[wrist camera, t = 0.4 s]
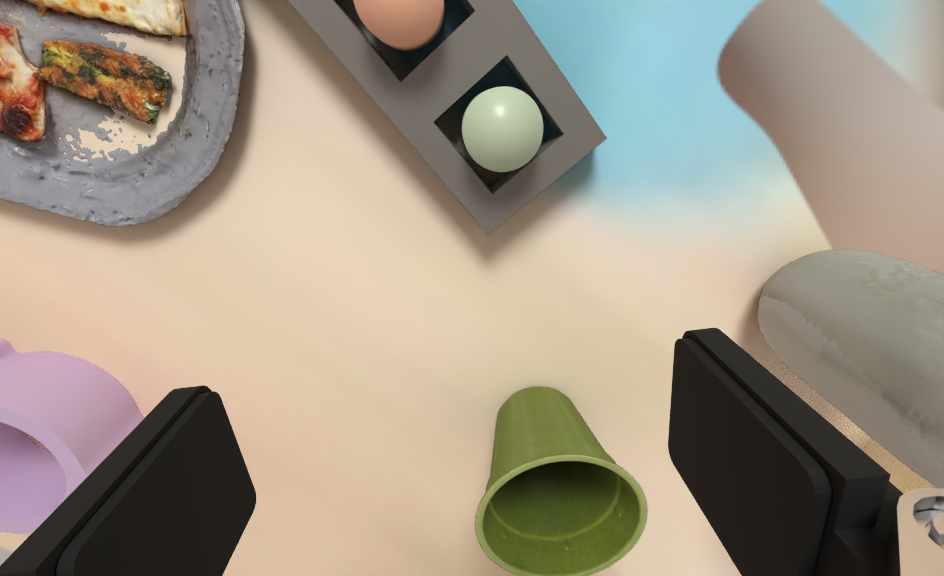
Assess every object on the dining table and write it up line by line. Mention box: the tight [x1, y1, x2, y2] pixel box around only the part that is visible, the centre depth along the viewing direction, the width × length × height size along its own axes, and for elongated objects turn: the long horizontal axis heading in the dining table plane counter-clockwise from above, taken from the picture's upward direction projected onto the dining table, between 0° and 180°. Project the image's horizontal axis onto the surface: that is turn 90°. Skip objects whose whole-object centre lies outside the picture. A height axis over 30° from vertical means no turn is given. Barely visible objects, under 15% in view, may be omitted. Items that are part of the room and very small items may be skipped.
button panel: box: [288, 0, 607, 234], centre depth 28 cm, size 10×28×3 cm, turn 40°
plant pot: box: [475, 387, 648, 576], centre depth 37 cm, size 12×12×11 cm
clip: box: [0, 338, 145, 534], centre depth 38 cm, size 20×12×7 cm, turn 49°
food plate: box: [0, 0, 245, 227], centre depth 28 cm, size 25×23×4 cm
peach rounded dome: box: [353, 0, 445, 52], centre depth 26 cm, size 5×5×4 cm
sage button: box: [462, 86, 543, 172], centre depth 29 cm, size 5×5×4 cm
